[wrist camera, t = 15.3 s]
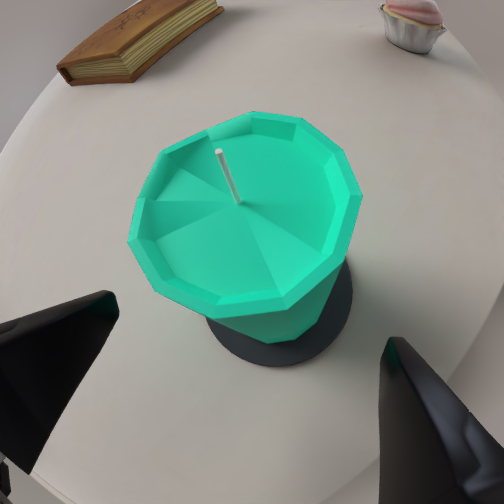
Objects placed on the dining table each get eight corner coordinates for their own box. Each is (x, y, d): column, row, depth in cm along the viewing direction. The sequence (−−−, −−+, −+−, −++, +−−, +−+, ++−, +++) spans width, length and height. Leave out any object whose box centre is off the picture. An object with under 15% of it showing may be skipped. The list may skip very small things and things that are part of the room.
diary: (150, 19, 40) (141, -1, 35) (224, 11, 35) (217, -15, 30) (69, 86, 35) (53, 64, 29) (132, 83, 29) (114, 50, 24)
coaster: (359, 357, 15) (360, 357, 14) (204, 368, 16) (202, 368, 15) (339, 215, 18) (340, 212, 18) (204, 230, 19) (202, 227, 19)
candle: (328, 248, 17) (358, 72, 6) (320, 349, 15) (379, 323, 4) (232, 241, 18) (146, 84, 7) (216, 336, 16) (60, 279, 5)
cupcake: (435, 69, 23) (450, 2, 13) (366, 40, 26) (369, -25, 17) (444, 48, 24) (455, -6, 15) (386, 24, 28) (390, -29, 18)
